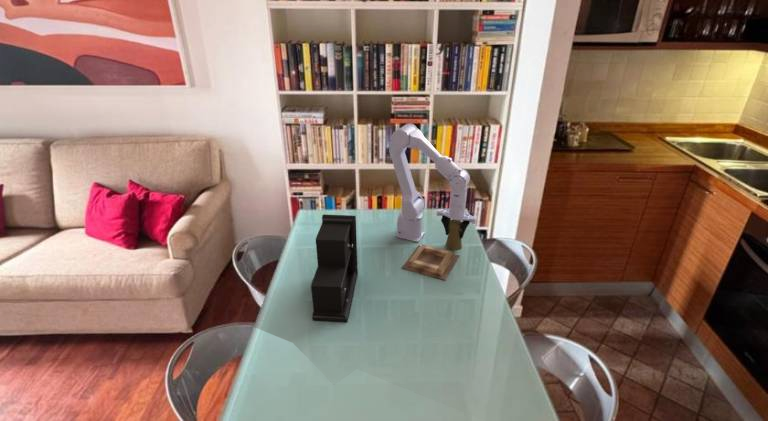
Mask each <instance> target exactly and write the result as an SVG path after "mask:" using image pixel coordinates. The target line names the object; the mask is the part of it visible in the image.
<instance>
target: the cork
mask: <svg viewBox="0 0 768 421" xmlns="http://www.w3.org/2000/svg"><path fill="white" fill-rule="evenodd" d="M462 222H463V220H454V219H451V220H450V221H449V228H450V229H449V233H448V235H447V237H446V242H445V247H446V248H447V249H448V250H451V251H458V250H460V249H462V239H461V238H460V234H461V223H462Z"/></svg>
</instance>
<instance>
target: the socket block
mask: <svg viewBox="0 0 768 421" xmlns="http://www.w3.org/2000/svg"><path fill="white" fill-rule="evenodd" d="M459 258H460V254H459V255H458V254H456V253H454V252H453V251H450V250H446V249H442V248H438V247H434V246H430V245H427V244H422V243H421V245H420V244H418V245H417V246H416V248H415V249H414V251H413V252H412V253H411V255H410V256H409V257H408V259H406V261H405V262H404V263H403V265H402V266H401V269H403V270H407V271H409V272H414V273H418V274H421V275H423V276H428V277H431V278H435V279H437V280H442V281H447V279H448V277H449V275H450V274H451V271H452V270H453V268H454V266H455V264H456V263H457V261H458V259H459Z"/></svg>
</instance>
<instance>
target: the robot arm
mask: <svg viewBox="0 0 768 421" xmlns="http://www.w3.org/2000/svg"><path fill="white" fill-rule="evenodd" d="M389 138H390V143H389V144H390V145H389V149H388V152H389V155H390V158H391V159H390V160H391V161H392V166H393V169H394V171H395V172H394V173H395V175H396V179H397V181H398V184H399V189H400V191H401V194H402V198H401V201H400V202H401V212H400V213H399V215H398V217H397V222H396V235H395V237H396V238H400V239H404V240H407V241H410V242H411V241H412V242H415V243H419V242H420V240H421V239H422V237H423V236H424V235H425V234H426V231H423V216H424V215H423V211H424V209H425V207H426V201H425V198H423V197H422V195H421V192H419V191H417V188H416V186H415V182H414V179H413V175H412V172H411V168H410V166H409V162H408V158H407V154H406V151H407V148H408V149H418V150H420V151H421V152H422V153H423V154H424V155H425V156H426V157H428V158H429V159H430V160H431V161H432V162H433V163H434V168H435V169H436V170H437V171H438V172H439V173H440V174H441V175H442V176H443V177H444V178H445V179H446V180H447V181H448V184H449V186H450V196H449V197H450V198H449V207H448V209H440V208H438V209H437V210H436V216H437V217H440V216H441V220H440V221H441V224H442V225H443V228H444V231H445V232H444V233H445V235H446V236H448V233H449V229H450V228H449V221H450V220H452V219H454V220H461V221H462V223H461V234H460V238H461V240H462V239H463V238H464V235H465V232H466V230H467V228H468V226H469V225H470V223H471V224H472V225H476V223H477V218H478V217H477V216H473V215H471V214H469V213H466V205H467V195H468V184H469V182H470V181H471V175H470V173H469V172H468V171H467V170H466V169H463V168H462V167H459V166H458V165H457V164H456V163H455V162H454V161H453V158H452V157H448V155H441V153H440V152H439V151H438V150H437V149H436V147H434V146H433V144H432V143H430V141H429V140H428V139H427V138H426V137H425V136H424V134H423V132H422V131H421V130H420V129H419V128H417V126H416V125H415V124H414V123H405V124H404V125H403V126H401V127H400V128H398V129H396V130H395V131H393V133H392V134H391V136H389Z"/></svg>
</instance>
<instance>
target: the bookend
mask: <svg viewBox="0 0 768 421" xmlns="http://www.w3.org/2000/svg"><path fill="white" fill-rule="evenodd" d="M356 217H357V216H356V215H350V214H349V215H346V214H325V213H324V214H322V216H321V220H322V222H321V224H320V227H319V229H318V233H317V235H316V237H315V248H316V258H317V268H316V270H315V273H314V275H313V278H312V282H311V284H310V290H311V299H312V300H311V301H312V308H313V312H312V318H311V319H312V321H313V322H334V323H348V322H349V318H350V313H351V309H352V304H353V299H354V295H355V294H354V293H355V289H356V285H357V279H358V276H359V274H358V249H357V248H358V246H357V245H358V242H357V220H356V219H357V218H356Z"/></svg>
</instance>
